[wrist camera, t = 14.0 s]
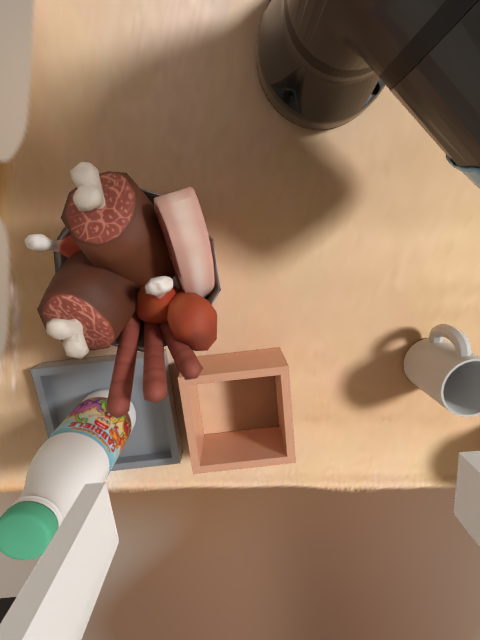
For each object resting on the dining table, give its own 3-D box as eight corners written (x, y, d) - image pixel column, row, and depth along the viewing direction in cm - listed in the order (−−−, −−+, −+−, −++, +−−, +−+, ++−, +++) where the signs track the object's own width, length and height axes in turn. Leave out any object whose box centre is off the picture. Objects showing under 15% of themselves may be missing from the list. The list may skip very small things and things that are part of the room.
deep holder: (185, 357, 45) (177, 378, 38) (279, 347, 45) (288, 366, 38) (198, 441, 48) (193, 474, 41) (286, 431, 48) (295, 462, 41)
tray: (41, 362, 45) (30, 369, 42) (165, 349, 45) (162, 355, 42) (67, 464, 48) (59, 476, 46) (182, 452, 48) (180, 463, 46)
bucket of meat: (68, 214, 41) (-80, 188, 21) (194, 170, 40) (161, 101, 20) (130, 360, 45) (56, 448, 26) (245, 322, 44) (257, 385, 25)
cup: (401, 387, 47) (440, 420, 39) (401, 320, 45) (442, 339, 36) (451, 381, 47) (501, 412, 39) (453, 313, 45) (507, 330, 36)
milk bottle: (128, 444, 47) (55, 588, 27) (74, 427, 46) (-40, 563, 27) (144, 398, 45) (80, 515, 26) (89, 379, 44) (-20, 486, 25)
